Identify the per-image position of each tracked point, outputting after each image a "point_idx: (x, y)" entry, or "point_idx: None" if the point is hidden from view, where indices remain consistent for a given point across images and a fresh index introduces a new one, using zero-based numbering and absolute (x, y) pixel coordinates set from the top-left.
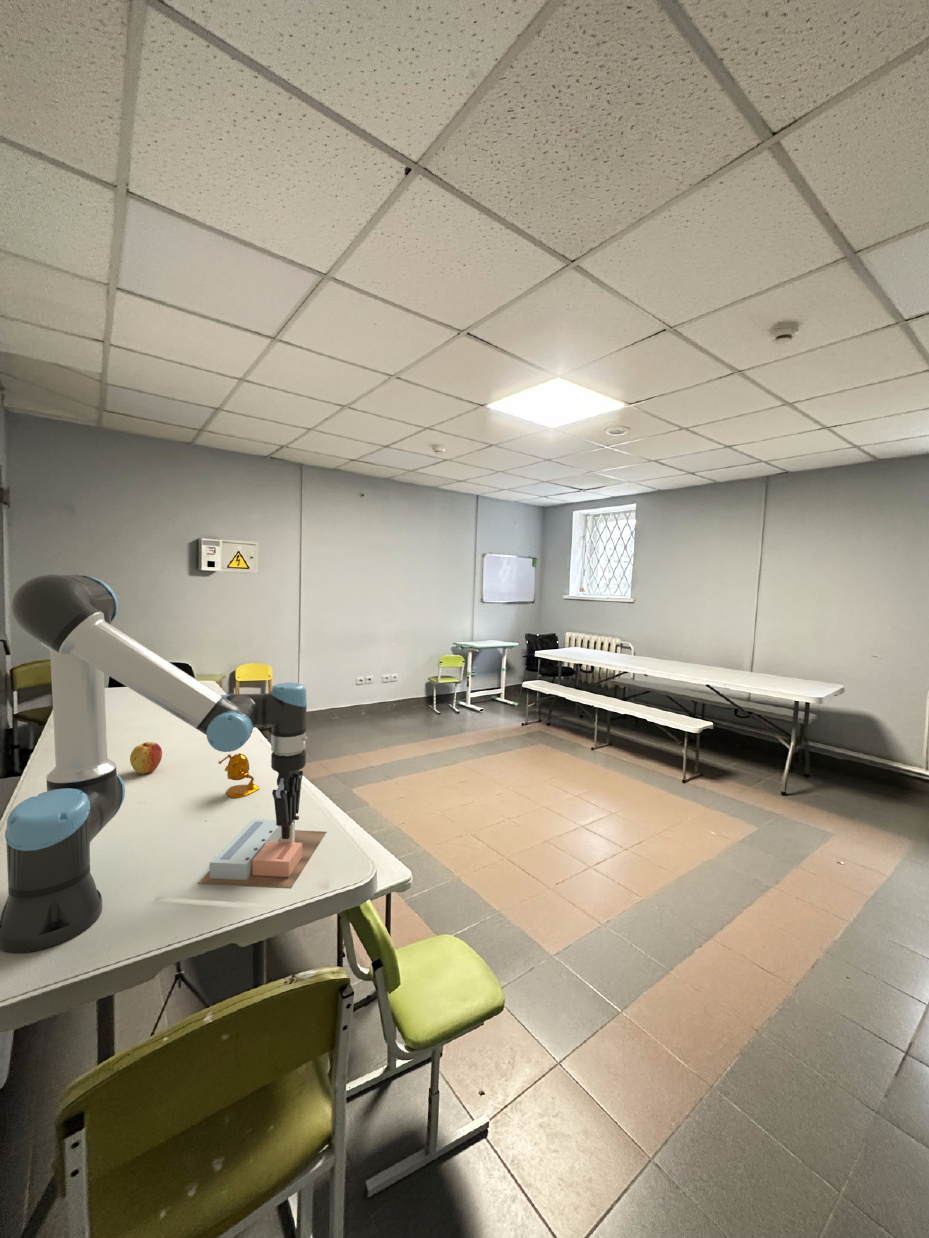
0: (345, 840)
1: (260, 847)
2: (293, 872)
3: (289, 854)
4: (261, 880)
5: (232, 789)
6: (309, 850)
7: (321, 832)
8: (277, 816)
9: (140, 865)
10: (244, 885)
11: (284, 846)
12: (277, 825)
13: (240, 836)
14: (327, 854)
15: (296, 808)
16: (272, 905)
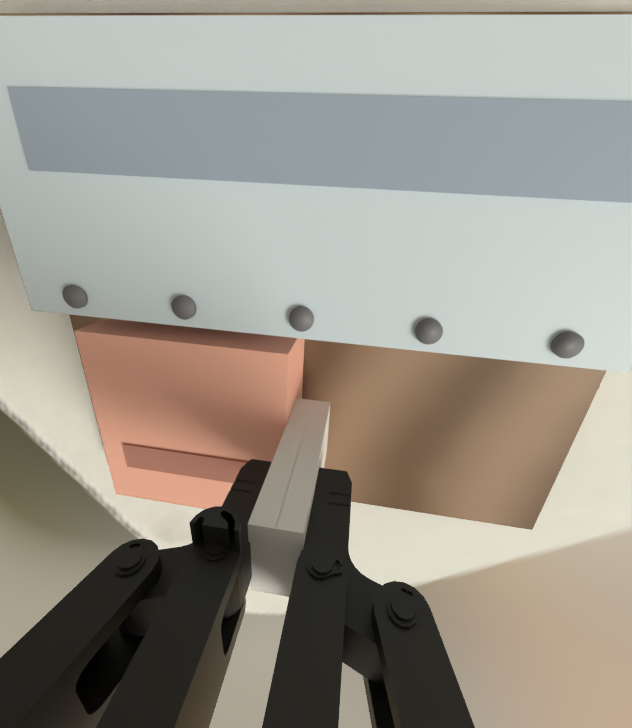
0: (456, 573)
1: (209, 328)
2: None
3: (171, 486)
4: None
5: None
6: (357, 483)
7: (527, 510)
8: (4, 671)
9: None
10: None
11: (239, 452)
12: (121, 548)
13: (360, 82)
14: (351, 527)
15: (369, 708)
16: (42, 417)
